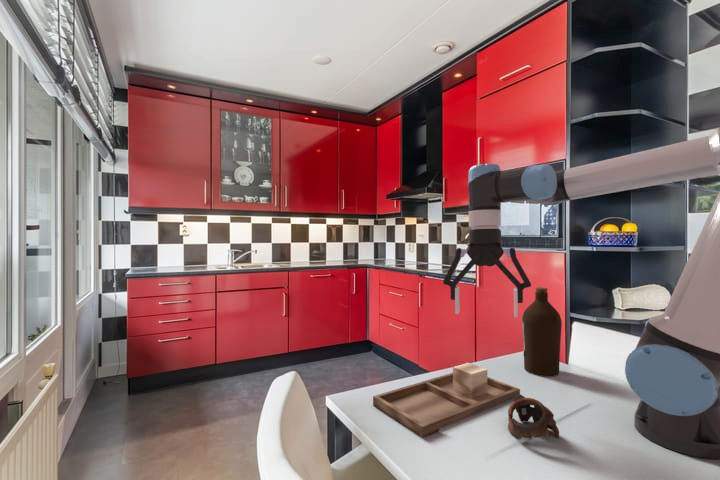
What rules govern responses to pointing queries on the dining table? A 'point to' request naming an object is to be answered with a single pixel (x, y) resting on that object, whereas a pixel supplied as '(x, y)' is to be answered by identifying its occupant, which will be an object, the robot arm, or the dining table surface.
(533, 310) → the olive oil
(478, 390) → the beech block
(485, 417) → the dining table surface
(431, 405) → the walnut tray
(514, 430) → the pottery mug
